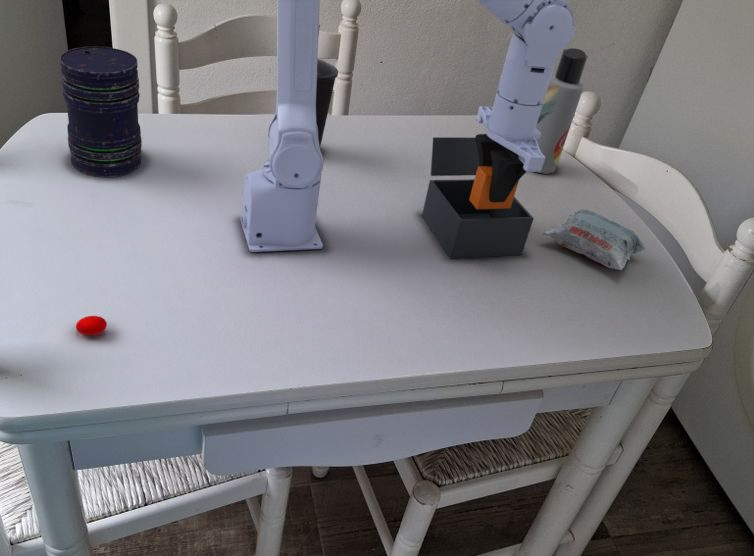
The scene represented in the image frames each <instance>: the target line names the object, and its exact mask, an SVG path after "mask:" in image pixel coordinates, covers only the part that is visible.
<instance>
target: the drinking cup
mask: <svg viewBox="0 0 754 556" xmlns="http://www.w3.org/2000/svg"><path fill="white" fill-rule="evenodd" d="M320 27H321V25H320V24H319V29H320ZM319 35H320V32H319V33H318V38H320V37H319ZM338 77H339V70H338V68H337V67H336V66H335V65H333V64H331V63H329V62H327V61H325V60H323V59H320V58H318V60H317V86H316V124H317V127H318V140H319V146H320V147H321V146H322V141H323V137H324V131H325V127H326V123H327V119H328V113H329V108H330V105H331V101H332V95H333V91H334V87H335V83H336V78H338Z"/></svg>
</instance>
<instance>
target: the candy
mask: <svg viewBox="0 0 754 556" xmlns="http://www.w3.org/2000/svg"><path fill="white" fill-rule="evenodd" d="M107 327H108V322H107V321H106V319H105V318H104V317H102V316H99V315H88V316H84V317H82V318H80V319H79V320H78V321H77V322H76V324H75V329H76V331H77V332H78V333H79V334H81V335H85V336H94V335H99V334H102V333H103V332H104V331H105V330H106V329H107Z"/></svg>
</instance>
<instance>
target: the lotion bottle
mask: <svg viewBox="0 0 754 556" xmlns="http://www.w3.org/2000/svg"><path fill="white" fill-rule="evenodd" d="M562 50H563V51H562V53H561V56H560V59H559V63H558V66H557V69H556V72H555V75H552V77H551V80H550V83H549V87H548V90H547V93H546V96H545V100H544V103H543V106H542V109H541V112H540V116H539V119H538V122H537V125H536V129H537V130H538V131H539V132H540V133H541V136H540V138H539V139H536V140H537V143H538V145H539V148H540V151H541V153H542V154H543V155H544V156H545V160H544V163H543V167H542V170H541V171H540V172H537V171H536V172H535V173H537V174H541V175H542V174H543V175H548V174H549V175H550V174H553V173H554V172H555V171H556V169H557V167H558V165H559V161H560V158H561V155H562V152H563V150H564V147H565V143H566V141H567V138H568V135H569V132H570V129H571V126H572V123H573V121H574V117H575V115H576V111H577V108H578V105H579V102H580V99H581V96H582V93H583V90H584V83H583V82H581V79H582V75H583V72H584V70H585V66H586V63H587V59H588V57H589V56H588V55H587V53H586V52H585V51H584V50H582V49H580V48H574V47H573V48H563V49H562Z"/></svg>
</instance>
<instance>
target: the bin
mask: <svg viewBox="0 0 754 556" xmlns="http://www.w3.org/2000/svg"><path fill="white" fill-rule="evenodd" d="M474 180H475V178H473V179H472V178H471V179H470V178H468V179H467V178H465V179H430V180H429V183H428V185H427V191H426V196H425V200H424V204H423V207H422V213H421V218H422V219H423V221H424V222H425V224H426V225H427V226H428V228H429V229H430V231H431V232H432V234H433V236H434V237H435V238H436V240H437V241H438V243H439V244H440V246H441V247H442V248H443V250H444V252H445V253H446V255H447V256H448V257H449V259H451V260H452V259H469V258H471V259H472V258H488V257H490V258H491V257H507V256H508V257H509V256H522V255H523V252H524V249H525V246H526V243H527V240H528V238H529V237H528V236H529V234H530V231H531V228H532V224H533V222H534V219H535V218H534V216H533V215H532V214H531V213H530V212H529V211H528V210H527V209H526V208H525V207H524V205H523V204H522V203H520V201H519V200H518V199H517V198H516V197H515V196H514V198H513V202H512V205H511V208H506V209H476V208H475V207H474V205H473V204H472V203H471V201H470V200H469V199H470V195H471V191H472V187H473V184H474Z"/></svg>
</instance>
